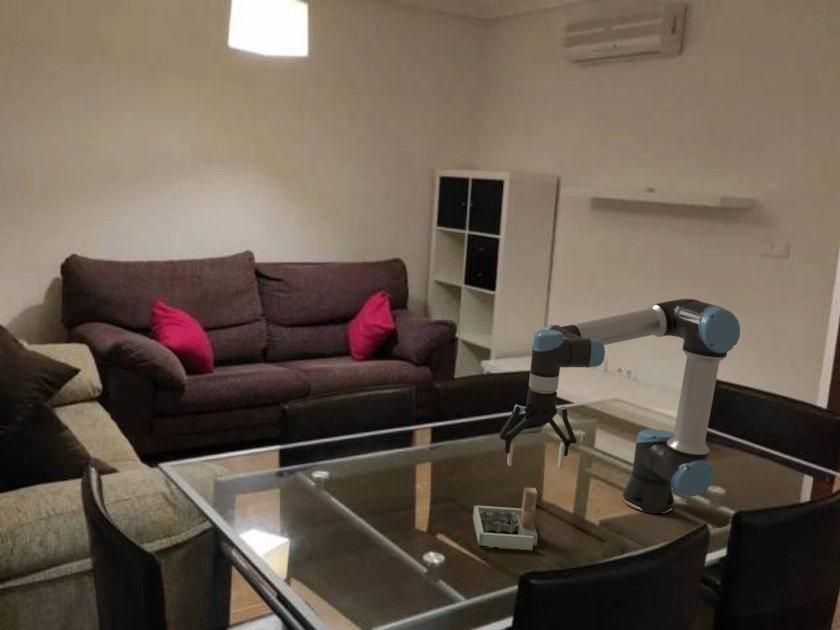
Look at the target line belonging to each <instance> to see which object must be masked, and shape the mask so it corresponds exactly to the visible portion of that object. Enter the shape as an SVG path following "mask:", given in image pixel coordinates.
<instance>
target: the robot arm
mask: <svg viewBox="0 0 840 630" xmlns="http://www.w3.org/2000/svg"><path fill="white" fill-rule="evenodd" d="M648 336H655V337H657V338H661V337H666V336H667V337H669V336H670V337H677V338H680V339H683V343H682V352H683V353H684V354H685V356H686V361H685V366H684V373H683V379H682V384H681V390H680V396H679V402H678V407H677V412H676V413H677V414H676V419H675V424H674V425H675V426H674V431H669V430H663V429H652V428H651V429H650V428H649V429H643V430H641V431H639V433H637V437H636V441H635V451H634V459H633V465H632V472H631V476H630V478H629V480H628V482H627V483H626V485H625V488H624V489H623V493H622V497H624V499H625V500H626V501H628V502H630V503H632V504H634V505H636V506H638V507H640V508H641V509H642V510H643V511H647V512H649V513H648V514H652V513H662V512H665V511H667V510H669V509H671V508H672V507H673V506H674V505H675V498H674V493H673V491H675V492H676V493H679V494H681V495H682V496H685V497H696V496H698V495H701V494H702V493H704V491H705V490H707V489H709V487H710V486H711V484H712V483H713V480H714V476H715V469H714V467H713V465H712V464H711V462H709V461H708V459H709V455H710V448H709V447H708V446H707V444H706V439H707V438H706V437H707V435H708V434H707V433H708V428H709V423H710V416H711V411H712V405H713V399H714V393H715V389H716V383H717V376H718V372H719V367H720V362H721V361H723V360H724V359H726V358H727V355H728V352H730V351H732V350H733V349H734V346H736V345H737V344H738V342H739V340H740V337H741V325H740V322H739V320H738V318H737V317H736V316H735V314H734V313H733V312H731V311H730V310H728V309H725V308H724V307H721V306H718V305H715V304H713V303H712V304H711V303H708V302H704V301H700V300H697V299H694V298H680V299H673V300H669V301H663V302H659V303H658V302H657V303H654V304H650V305H649V306H648V308H647V309H646V308H645V309H642V310H638V311H632V312H629V313H624V314H623V313H622V314H618V315H613V316H609V317H603V318H599V319H594V320H589V321H588V320H587V321H583V322H580V323H574V324H569V325H564V326H560V325H558V324H548V325H546V326H544V327H543V329H539V330H537V331H535V333H534V336H533V339H532V340H533V341H532V345H531V349H532V350H531V361H530V370H529V378H528V379H529V380H528V387H529V388H527V398H526V404H525V406H522V405H519V404H518V403H515V404H514V406H513V411H512V413H511V414H510V415H509V417H508V418H507V420H506V422H505V423H504V425H503V427H502V428H501V430H500V431H499V433H498V435H499V439H500V440H503V441H504V453H506V454H507V461H506V463H507V465H508V467H512V465H513V464H512V463H513V454H514V453H513V452H514V445H515V443H514V441H513V440H514V439H515V438H516V437H517V436H518V435H519V434H520V433H521V432H522V431H523V430H524V429H525V428H527V427H528V426H530V425H531V424H534V425H539V424H540V425H543V426H544V425H545V426H546V425H547V424H549V425H550V426H551V427H552V429H553V430H554V431H555V433H556V435H558V437H559V438H560V439H561V441H562V442H561V441H560V442H559V448H558V449H559V450H558V455H557V456H558V458H557V467H558V469H559V470H563V469H564V468H563V465H564V458H565V457H568V455H569V447H571V444H574V445H575V444H576V443H577V442H578V441H577V439H576V436H575V433H574V432H573V428H572V426H571V424H570V423H571V422H570V421H569V418H568V410H567V409H566V407H565V406H561V407H560V408H557V407H556V406H557V399H558V398H557V397H558V392H557V390H558V387H559V378H560V371H561V368H588V369H589V368H594V367H595V368H596V367H597V368H598V367H600V366H601V365H602V364H603V363H604V361H605V356H606V350H605V346H607V345H611V344H616V343H621V342H626V341H630V340H636V339H639V338H644V337H648ZM523 412H525V414H526V415H524V417H523V418H522V419H521V421H519V423H517V424H516V425H515V426H514V424H515V422H516V421H517V419H518V417H519V416H520V415H521V414H523ZM557 414H558V416H559V417H560V418H561V420H562V422H563V425H564V428H565V430H566V432H567V435H568V437H566V435H565V433H563V431H562V430H561V429H560V427H559V426H558V424H557V423H556V421H555V420H554V418H555V416H556V415H557ZM513 426H514V427H513ZM674 507H675V506H674ZM674 507H673V508H674Z"/></svg>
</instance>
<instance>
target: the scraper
mask: <svg viewBox="0 0 840 630" xmlns="http://www.w3.org/2000/svg"><path fill="white" fill-rule="evenodd" d="M537 496H538V492H537V488H536V487H528V486H527V487H525V486H524V488H523V496H522V503H521V509H522V510H521V514H516V518H517V523H518V526H517V528H516V532H517V535H527V536H533V537H534V540H533V546H534V547H537V546H538V538H539V535H538V532H537V530H536V527H535V524H534V522H535V515H536V514H535V513H536V505H537V500H538V499H537Z"/></svg>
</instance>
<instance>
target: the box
mask: <svg viewBox="0 0 840 630" xmlns="http://www.w3.org/2000/svg"><path fill="white" fill-rule="evenodd" d="M481 510H488V511H501V512H502V513H503V512H512V511H514V512H515V516H516V514H521V510H522V508H520V507H519V508H517V507H505V506H504V507H501V506H491V505H490V506H489V505H473V510H472V511H473V512H472V519H473V524H474V530H475V534H476V539H477V543H479V545H483V546H489V547H488V548H493V547H498V549H509V550H510V549H511V550H524V551H525V550H526V551H527V550H528V551H533V540H534V537H533V536H527V535H518V534H513V533H509V534H507V533H498V532H496V533H495V532H494V533H493V532H485V531H483V527H482V523H481V519H480V514H479V511H481ZM479 545H478V546H479Z"/></svg>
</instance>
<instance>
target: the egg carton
mask: <svg viewBox="0 0 840 630" xmlns="http://www.w3.org/2000/svg"><path fill="white" fill-rule="evenodd" d="M479 514H480V519H481V523H482V527H483V532H484V533H489V531H494V532H496V533H501V532H507V533H509V534H513V533H514V532H517V530H516V528H517V526H518V523H517V518H516V516H515V512H514V511H512V512H503V513H502V512H501V511H488V510H481V511H479ZM508 523H509V524H508Z"/></svg>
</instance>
